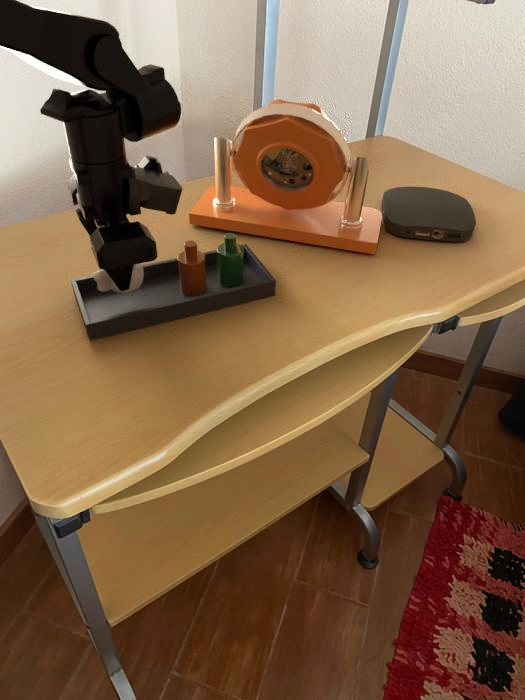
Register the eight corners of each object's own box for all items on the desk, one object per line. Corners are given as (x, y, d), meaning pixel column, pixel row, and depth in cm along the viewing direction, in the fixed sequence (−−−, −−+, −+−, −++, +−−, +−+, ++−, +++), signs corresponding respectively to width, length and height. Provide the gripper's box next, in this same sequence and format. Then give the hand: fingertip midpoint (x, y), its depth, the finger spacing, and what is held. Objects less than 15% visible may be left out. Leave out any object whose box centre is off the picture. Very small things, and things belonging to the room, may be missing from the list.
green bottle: (223, 289, 72) (222, 244, 67) (213, 275, 74) (212, 231, 70) (247, 284, 73) (248, 239, 69) (237, 270, 76) (237, 226, 71)
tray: (89, 341, 64) (85, 325, 62) (74, 295, 71) (70, 279, 69) (275, 295, 72) (276, 280, 71) (245, 258, 79) (246, 243, 77)
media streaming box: (460, 204, 95) (465, 188, 93) (476, 246, 84) (481, 229, 82) (379, 197, 96) (382, 182, 94) (384, 238, 85) (388, 221, 83)
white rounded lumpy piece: (155, 290, 68) (148, 234, 62) (110, 310, 64) (99, 253, 59) (131, 272, 70) (123, 217, 65) (87, 290, 67) (75, 234, 62)
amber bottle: (184, 298, 70) (181, 253, 66) (176, 284, 73) (172, 239, 68) (210, 292, 71) (208, 247, 67) (201, 278, 74) (199, 234, 69)
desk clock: (373, 259, 80) (402, 123, 67) (188, 228, 85) (180, 96, 72) (380, 221, 89) (407, 95, 76) (212, 195, 94) (209, 72, 80)
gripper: (200, 178, 52) (205, 304, 62) (148, 117, 64) (160, 231, 75) (85, 195, 48) (111, 326, 59) (54, 127, 61) (79, 246, 71)
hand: (119, 277), depth 66 cm, fingers closed on white rounded lumpy piece, 5 cm apart
